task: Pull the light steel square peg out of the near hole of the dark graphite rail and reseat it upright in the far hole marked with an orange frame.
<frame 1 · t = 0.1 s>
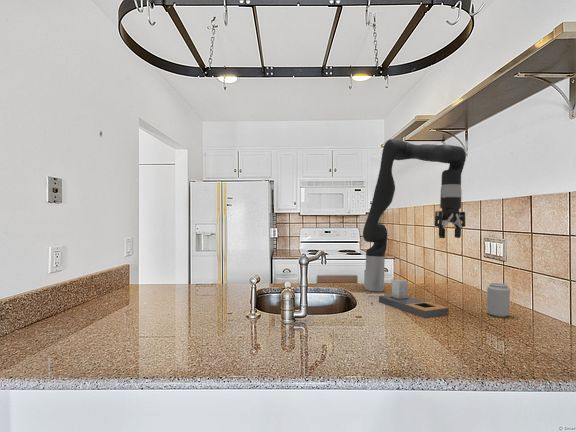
hand: (449, 237, 142), 29 cm above the worktop, fingers open, 8 cm apart
peg: (399, 304, 154), resting in rail
rail: (411, 307, 147), on the worktop
can: (497, 315, 139), on the worktop
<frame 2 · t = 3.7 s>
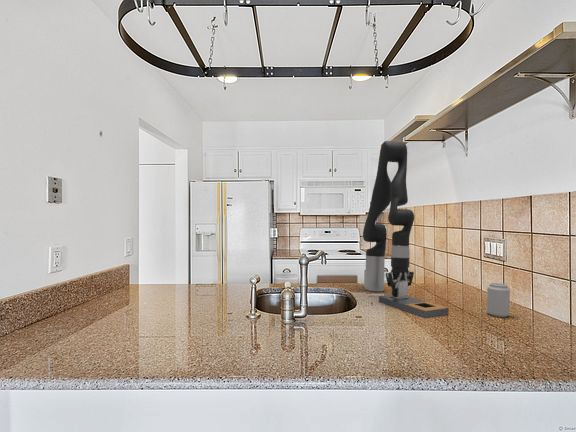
hand: (399, 296, 154), 3 cm above the worktop, fingers closed on peg, 4 cm apart
peg: (399, 304, 154), resting in rail, touching gripper
everything else where it was.
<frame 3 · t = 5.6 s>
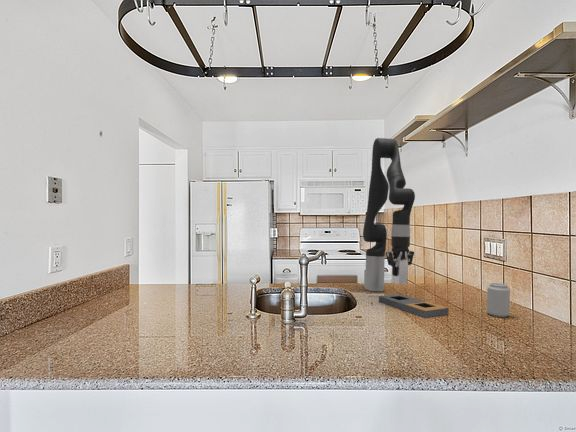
hand: (399, 275, 154), 12 cm above the worktop, fingers closed on peg, 4 cm apart
peg: (399, 283, 154), point 9 cm above the worktop, touching gripper
everything else where it was.
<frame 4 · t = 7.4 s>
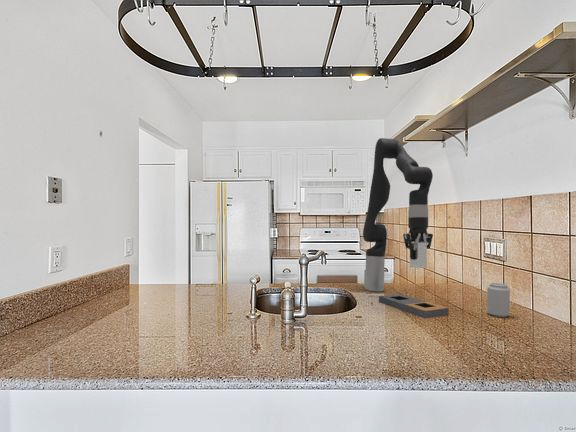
hand: (418, 259, 144), 20 cm above the worktop, fingers closed on peg, 4 cm apart
peg: (418, 267, 144), point 17 cm above the worktop, touching gripper
everything else where it was.
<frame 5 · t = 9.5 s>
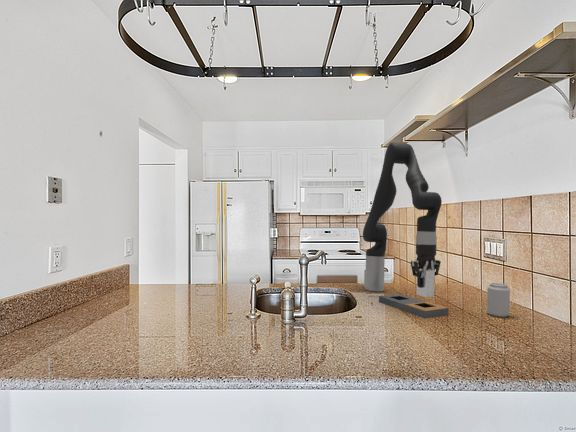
hand: (425, 286, 141), 10 cm above the worktop, fingers closed on peg, 4 cm apart
peg: (425, 295, 141), point 7 cm above the worktop, touching gripper
everything else where it was.
when the fingers open (5 cm above the worktop, at t = 11.3 s): peg drops 1 cm, resting in rail.
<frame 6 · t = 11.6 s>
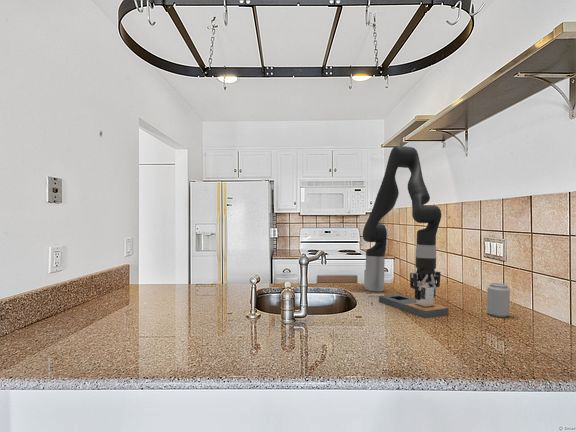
hand: (424, 298, 141), 5 cm above the worktop, fingers open, 6 cm apart
peg: (424, 312, 141), resting in rail
everything else where it was.
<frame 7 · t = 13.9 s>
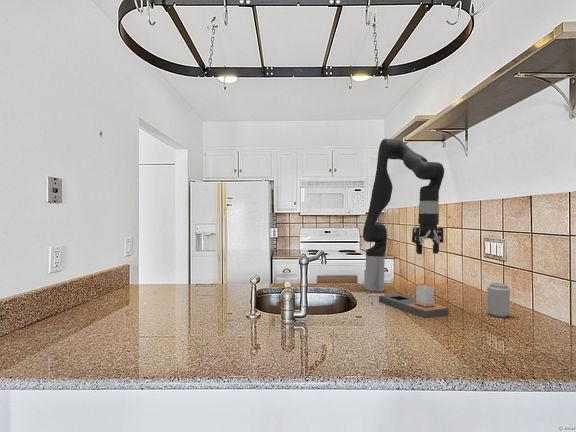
hand: (427, 253, 143), 23 cm above the worktop, fingers open, 8 cm apart
nothing on the worktop moved.
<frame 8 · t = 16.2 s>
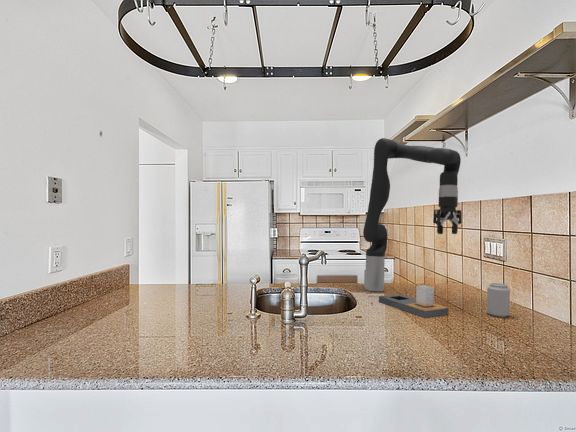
hand: (447, 234, 155), 30 cm above the worktop, fingers open, 8 cm apart
nothing on the worktop moved.
at the end: peg 0.0 cm from the target spot on the rail, point 0.0 cm above the rail's base; peg tilted 0°; the gripper is holding nothing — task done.
